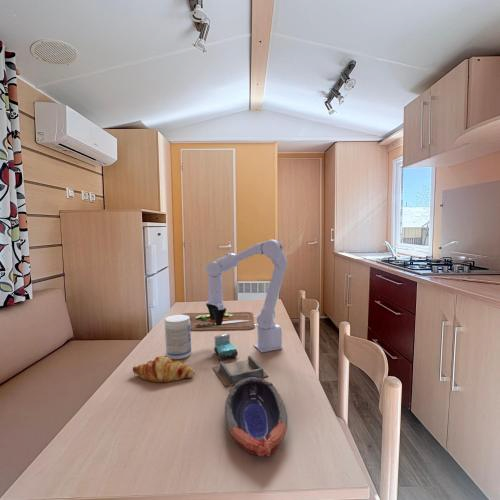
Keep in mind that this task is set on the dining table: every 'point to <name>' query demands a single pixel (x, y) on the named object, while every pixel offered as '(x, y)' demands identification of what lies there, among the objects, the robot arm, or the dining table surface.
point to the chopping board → (229, 321)
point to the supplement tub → (178, 336)
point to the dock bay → (239, 371)
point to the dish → (256, 416)
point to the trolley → (224, 347)
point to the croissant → (163, 370)
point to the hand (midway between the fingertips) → (216, 322)
